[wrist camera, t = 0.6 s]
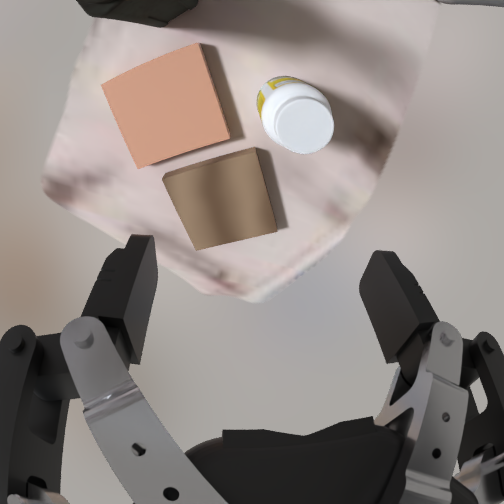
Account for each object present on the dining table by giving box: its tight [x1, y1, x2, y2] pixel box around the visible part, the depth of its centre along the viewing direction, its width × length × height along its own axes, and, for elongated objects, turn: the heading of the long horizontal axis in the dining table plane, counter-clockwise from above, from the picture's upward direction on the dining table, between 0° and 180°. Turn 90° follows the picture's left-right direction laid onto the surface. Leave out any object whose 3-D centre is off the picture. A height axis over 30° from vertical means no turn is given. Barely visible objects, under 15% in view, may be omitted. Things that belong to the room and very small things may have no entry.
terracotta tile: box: [101, 43, 230, 169], centre depth 24 cm, size 10×10×2 cm
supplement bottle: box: [257, 76, 334, 154], centre depth 21 cm, size 5×5×10 cm
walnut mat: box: [162, 147, 278, 251], centre depth 31 cm, size 10×10×2 cm
